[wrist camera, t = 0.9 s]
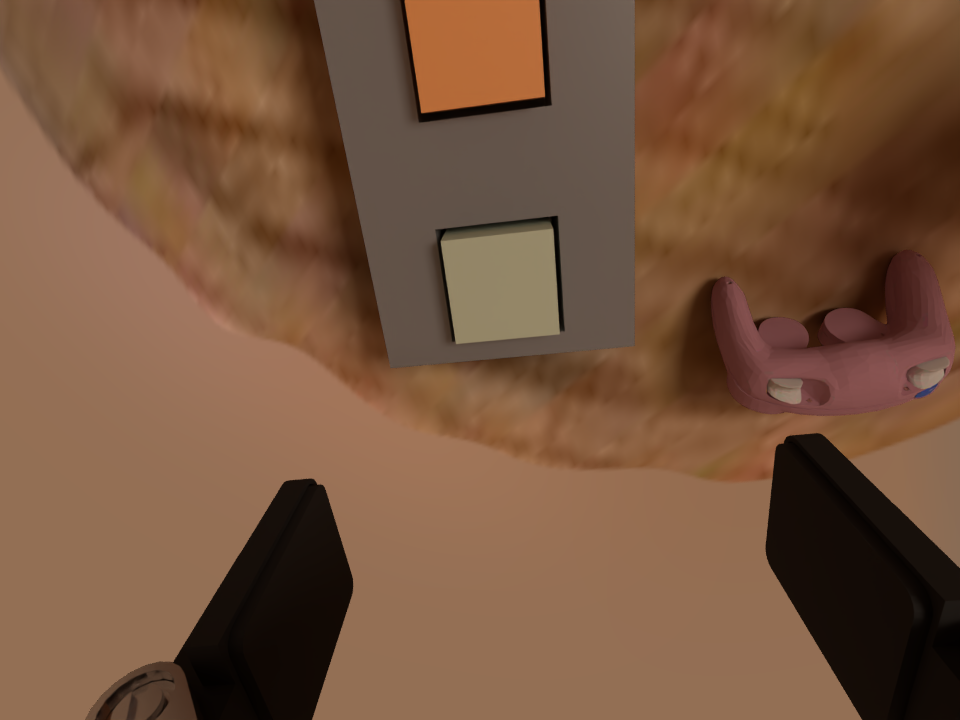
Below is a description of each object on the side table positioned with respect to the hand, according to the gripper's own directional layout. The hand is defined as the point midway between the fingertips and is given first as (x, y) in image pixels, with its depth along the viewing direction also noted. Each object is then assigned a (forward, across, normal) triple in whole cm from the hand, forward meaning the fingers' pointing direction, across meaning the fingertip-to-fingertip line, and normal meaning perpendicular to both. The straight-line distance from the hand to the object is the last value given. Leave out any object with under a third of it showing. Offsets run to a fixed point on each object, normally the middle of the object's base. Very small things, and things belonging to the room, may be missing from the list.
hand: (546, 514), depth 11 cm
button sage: (+15, +1, -1) cm, 15 cm away
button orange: (+15, +1, -10) cm, 18 cm away
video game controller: (+18, -14, +4) cm, 23 cm away
